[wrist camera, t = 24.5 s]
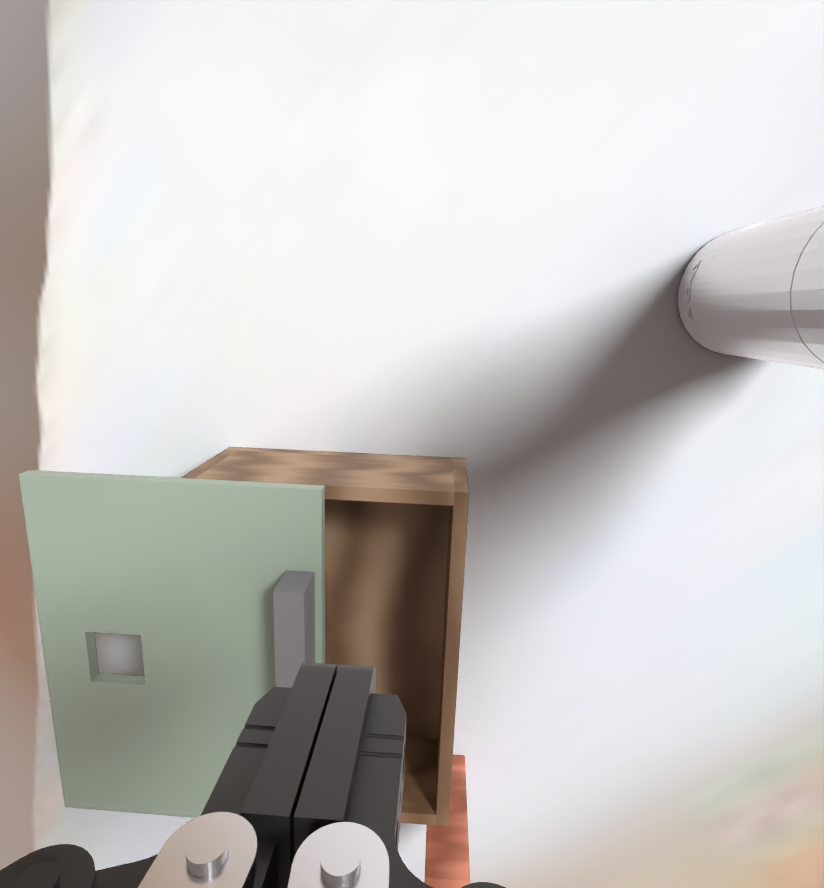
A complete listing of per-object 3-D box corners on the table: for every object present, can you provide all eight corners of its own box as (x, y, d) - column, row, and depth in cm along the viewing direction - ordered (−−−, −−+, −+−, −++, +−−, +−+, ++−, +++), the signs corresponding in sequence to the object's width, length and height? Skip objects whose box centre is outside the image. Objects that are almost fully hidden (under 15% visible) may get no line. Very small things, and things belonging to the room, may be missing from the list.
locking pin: (464, 755, 53) (470, 880, 41) (463, 784, 54) (468, 915, 42) (429, 753, 53) (424, 877, 41) (428, 782, 54) (423, 912, 42)
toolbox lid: (324, 485, 38) (310, 505, 34) (325, 816, 44) (314, 865, 40) (29, 470, 39) (-17, 487, 35) (73, 796, 45) (38, 841, 42)
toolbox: (464, 458, 46) (469, 492, 37) (447, 740, 53) (448, 826, 44) (229, 446, 47) (180, 477, 38) (242, 725, 54) (202, 806, 45)
